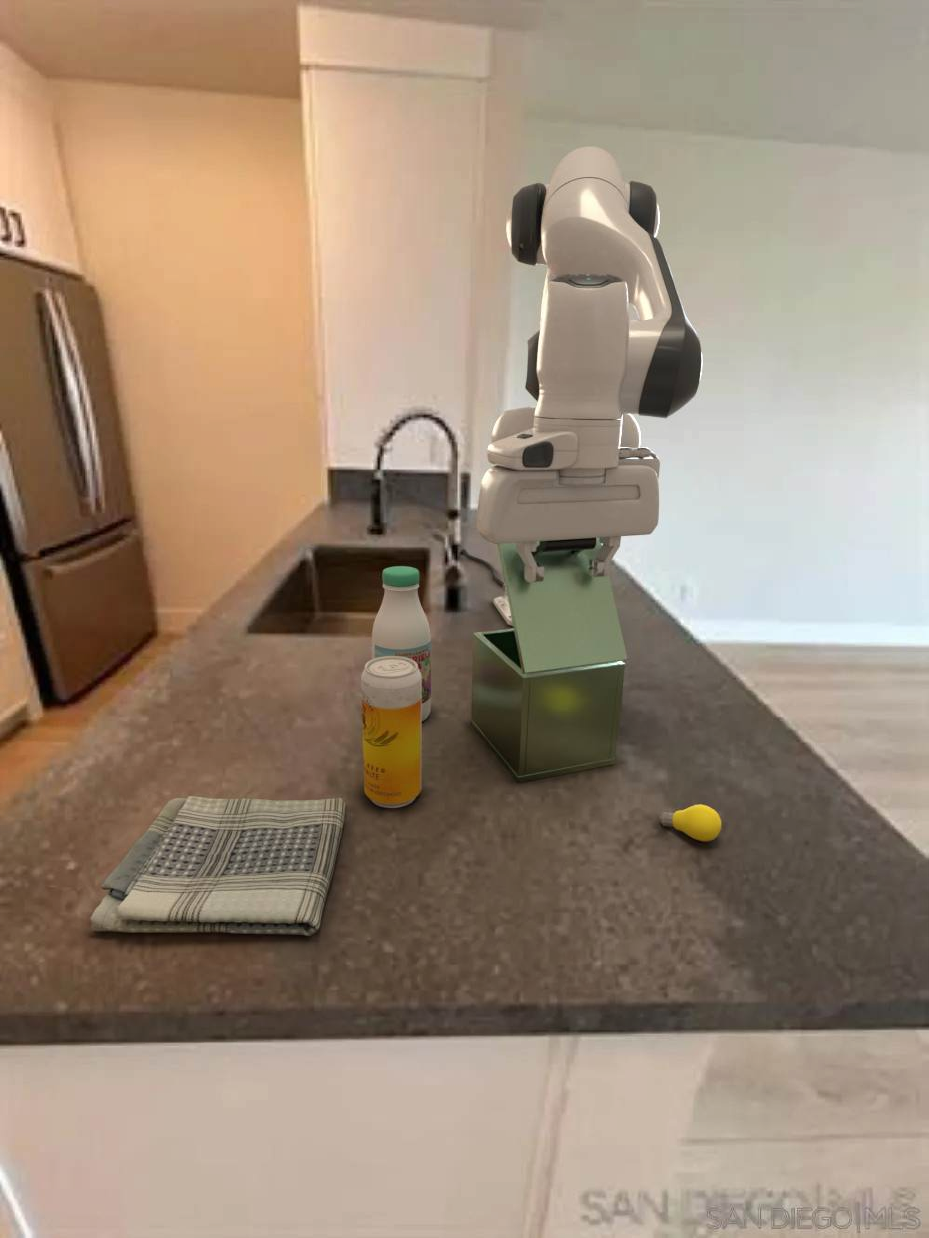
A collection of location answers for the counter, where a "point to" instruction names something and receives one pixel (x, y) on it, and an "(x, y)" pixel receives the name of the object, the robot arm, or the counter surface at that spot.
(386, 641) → the milk bottle
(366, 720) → the beer can
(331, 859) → the dish towel
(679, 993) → the counter surface
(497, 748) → the olive green box
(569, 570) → the green panel
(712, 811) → the light bulb
